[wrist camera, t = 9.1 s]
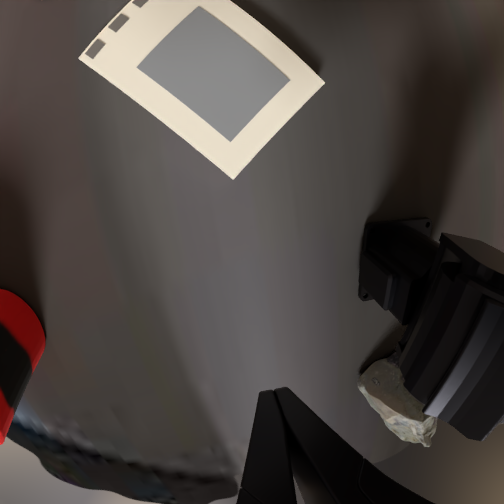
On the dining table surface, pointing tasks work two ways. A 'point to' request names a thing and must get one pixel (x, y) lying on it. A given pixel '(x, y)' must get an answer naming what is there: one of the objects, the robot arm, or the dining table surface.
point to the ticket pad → (204, 74)
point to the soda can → (16, 353)
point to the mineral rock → (396, 402)
